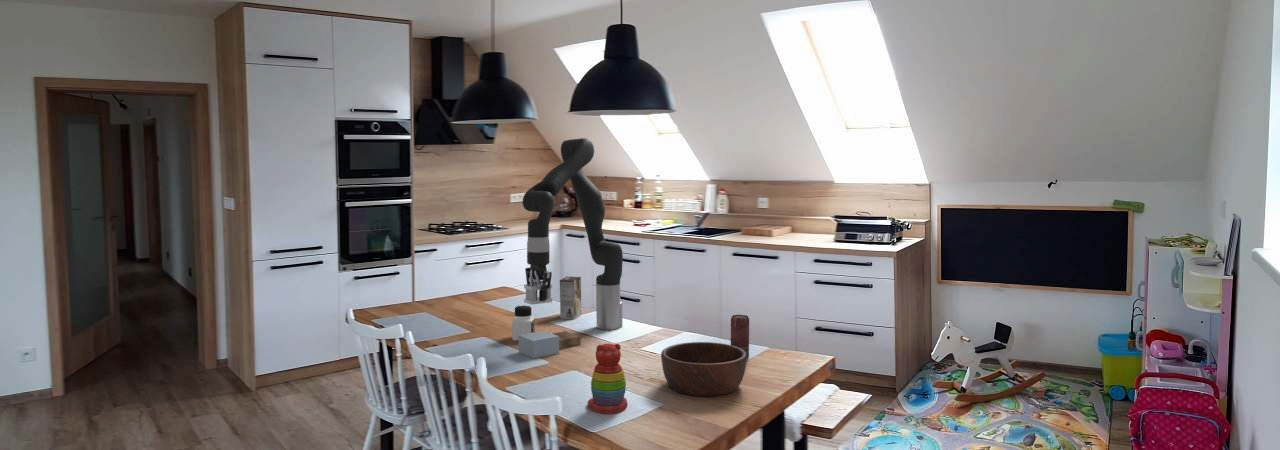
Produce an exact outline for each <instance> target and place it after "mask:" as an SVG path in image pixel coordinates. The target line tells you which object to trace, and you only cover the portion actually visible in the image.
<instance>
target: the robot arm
mask: <svg viewBox="0 0 1280 450" xmlns="http://www.w3.org/2000/svg"><path fill="white" fill-rule="evenodd" d="M560 154H561V155H560V156H561V159H562V162H561V163H560V164H558V165H556V166H554V168H552V169H551V170H550V171H549V172H547V174H545V176H544V177H543V179H542V180H541V181H540V182H538V183H536V184H534V185H533V186H531V187H530V188H529V189H528V190H526V192H524V195H523V197H522V206H523V208H524V209H525V211H528V212H534V213H538V216H537V218H532V219H529V220H528V223H527V240H526V241H527V242H526V263H527V265H530V266H529V267H525V269H524V270H525V277H526V278H525V280H526V285H527V284H538V285H539V290H536V297H539V301H546V290H547V289H550V284H551V283H552V275H553V272H552V271H548V269H547V265H549V264H550V248H551V247H550V245H551V244H550V234H549V233H550V222H551V218H552V214H553V210H554V207H555V197H556V196H557V195H558V194H559V193H560V191H561V190H562V189H563V187H565V185H566V184H567V182H568V181H571V182H570V183H572V187H573V190H574V194H575V197H576V200H577V206H578V207H579V211H580V214H581V217H582V220H583V223H584V227H585V231H586V237H587V239H588V245H589V250H590V254H591V258H592V260H593V262H594V263H595V264H596V265H599V266H603V267H604V271H603V273H602V274H599V275H597V276H596V278H595V288H596V289H595V290H596V291H595V295H596V304H595V306H596V307H595V308H596V309H595V310H596V313H595V314H596V329H598V330H604V331H605V330H606V331H608V330H609V331H612V330H617V329H620V328H622V327H623V302H621V278H622V275H623V259H624V257H623V249H622V246H621V245H620V244H619V243H617V242H612V241H611V242H610V241H606V239H605V236H604V232H603V222H604V219H605V214H606V207H605V204H604V199H603V196H602V193H601V192H600V190H599V189H598V187H597V186H596V185H595V184H594V183H593V182H592V180H590V179H589V178H588V177H587V176H586V174H585V173H584V171H583V168H584V167H585V166H586V165H588V164H589V163H590V162H592V160H593V158H594V156H595V155H594V154H595V147H594V144H593V142H592V141H591V140H590V139H588V138H584V137H583V138H575V139H574V138H572V139H567V140H564V141H562V142H561V145H560ZM541 283H542V285H541ZM546 283H547V284H546Z"/></svg>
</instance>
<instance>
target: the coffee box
mask: <svg viewBox="0 0 1280 450" xmlns="http://www.w3.org/2000/svg"><path fill="white" fill-rule="evenodd" d="M581 278H582V276H565V277H563V278H562V279H560V280H559V307H560V308H559V310H560V315H559V316H560V319H561V320H563V319H564V320H576V319H577V318H579V317H580V316H581V315H582V279H581ZM575 318H576V319H575Z"/></svg>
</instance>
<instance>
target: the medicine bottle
mask: <svg viewBox="0 0 1280 450" xmlns="http://www.w3.org/2000/svg"><path fill="white" fill-rule="evenodd" d="M535 328H536V327H535V317H533V316H532V307H531V306H530V305H526V304H525V305H523V304H521V305H516V306H515V307H514V319H513V320H512V321H511V338H512V339H511V340H512V341H513V342H514V341H515V342H516V341H518V342H519V339H518V335H522V334H528V333H534V332H536V331H535Z"/></svg>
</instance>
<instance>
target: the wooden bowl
mask: <svg viewBox="0 0 1280 450" xmlns="http://www.w3.org/2000/svg"><path fill="white" fill-rule="evenodd" d="M660 357H661V365H662V372H663V375H664V378H665V381H666V382H667V384H668V385H669V386H668V387H670V388H671V389H673V391H675V392H677V393H680V394H684V395H688V396H694V397H717V396H719V397H720V396H724V395H728V394H730V393H733V392H735V391H736V390H737V389H738V388H739V386H741V383H742V381H743V378H744V375H745V372H746V369H747V368H746V367H747V360H748V359H747V354H746V352H745V351H744V350H742V349H741V348H738V347H736V346H732V345H731V344H726V343H720V342H712V341H711V342H709V341H694V342H693V341H692V342H683V343H676V344H673V345H672V344H671V345H670V346H667V347H665V348H664V349H662V351H661V354H660Z"/></svg>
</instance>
